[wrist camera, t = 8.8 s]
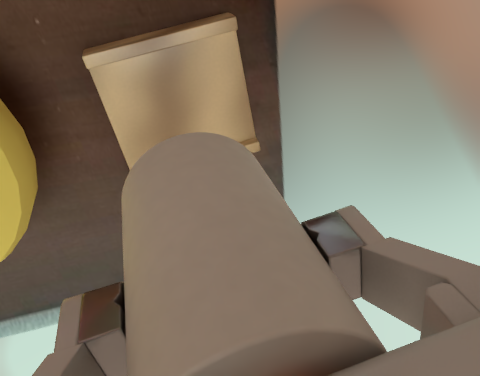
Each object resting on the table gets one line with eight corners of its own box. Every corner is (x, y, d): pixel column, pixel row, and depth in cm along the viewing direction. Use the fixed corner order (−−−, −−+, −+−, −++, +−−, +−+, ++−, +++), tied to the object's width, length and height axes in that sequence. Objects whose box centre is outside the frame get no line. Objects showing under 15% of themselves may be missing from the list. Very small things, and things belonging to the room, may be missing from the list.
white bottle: (251, 112, 13) (506, 413, 4) (272, 230, 16) (454, 550, 7) (98, 157, 12) (64, 599, 4) (148, 271, 15) (191, 672, 7)
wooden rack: (228, 11, 33) (236, 16, 30) (253, 140, 39) (260, 150, 37) (83, 49, 31) (81, 56, 29) (134, 175, 38) (135, 188, 36)
